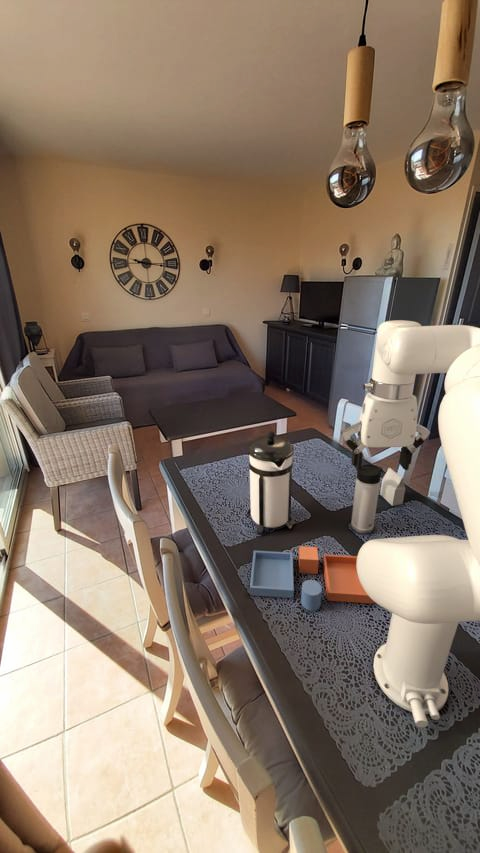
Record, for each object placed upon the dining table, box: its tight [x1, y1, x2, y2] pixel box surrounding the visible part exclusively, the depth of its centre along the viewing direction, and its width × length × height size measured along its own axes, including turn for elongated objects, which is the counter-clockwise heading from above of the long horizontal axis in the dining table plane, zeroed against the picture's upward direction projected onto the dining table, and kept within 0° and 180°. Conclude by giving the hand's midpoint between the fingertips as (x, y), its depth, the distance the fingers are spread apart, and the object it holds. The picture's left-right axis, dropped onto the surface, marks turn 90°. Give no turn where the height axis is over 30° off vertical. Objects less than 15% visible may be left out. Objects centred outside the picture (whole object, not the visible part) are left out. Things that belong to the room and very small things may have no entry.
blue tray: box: [249, 550, 295, 599], centre depth 90 cm, size 12×10×2 cm
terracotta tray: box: [321, 553, 375, 605], centre depth 88 cm, size 12×10×2 cm
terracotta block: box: [297, 545, 320, 575], centre depth 92 cm, size 5×5×5 cm
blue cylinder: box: [300, 579, 323, 612], centre depth 82 cm, size 4×4×5 cm
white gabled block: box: [379, 467, 406, 507], centre depth 117 cm, size 4×7×10 cm, turn 14°
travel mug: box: [350, 463, 384, 534], centre depth 102 cm, size 6×7×20 cm
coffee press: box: [247, 430, 295, 536], centre depth 105 cm, size 17×16×30 cm
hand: (380, 467), depth 75 cm, fingers open, 9 cm apart
